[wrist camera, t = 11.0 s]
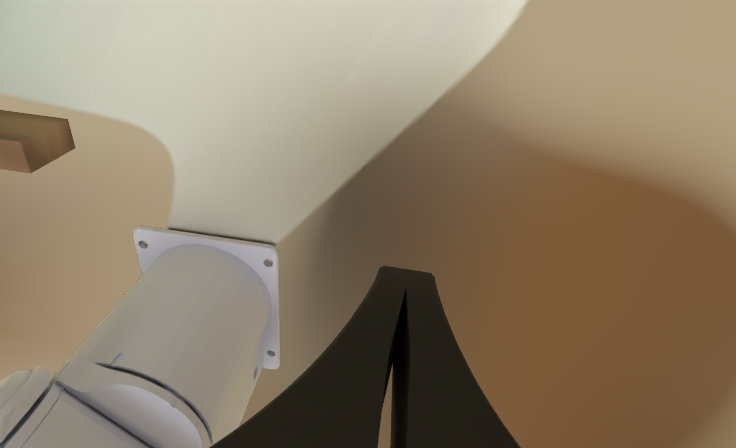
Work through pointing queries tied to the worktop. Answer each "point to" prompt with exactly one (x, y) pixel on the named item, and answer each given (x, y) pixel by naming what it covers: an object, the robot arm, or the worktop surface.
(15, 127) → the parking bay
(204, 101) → the worktop surface
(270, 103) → the worktop surface
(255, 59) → the worktop surface
